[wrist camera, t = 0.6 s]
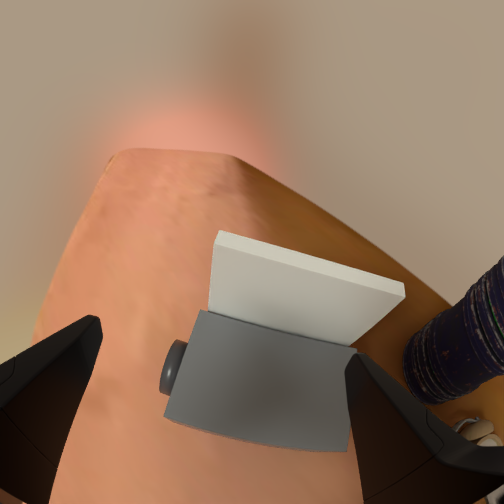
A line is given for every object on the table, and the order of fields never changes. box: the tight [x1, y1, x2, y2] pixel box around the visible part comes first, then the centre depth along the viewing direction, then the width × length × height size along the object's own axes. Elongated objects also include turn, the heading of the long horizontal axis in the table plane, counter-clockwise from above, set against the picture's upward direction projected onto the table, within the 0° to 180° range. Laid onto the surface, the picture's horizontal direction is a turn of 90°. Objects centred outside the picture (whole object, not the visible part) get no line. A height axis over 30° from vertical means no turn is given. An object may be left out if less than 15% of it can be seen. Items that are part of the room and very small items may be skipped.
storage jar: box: [403, 256, 504, 405], centre depth 19 cm, size 10×10×15 cm
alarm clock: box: [452, 417, 503, 446], centre depth 15 cm, size 11×5×15 cm
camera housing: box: [159, 310, 357, 452], centre depth 19 cm, size 8×13×6 cm, turn 77°
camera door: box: [208, 230, 405, 347], centre depth 19 cm, size 2×11×12 cm, turn 77°
